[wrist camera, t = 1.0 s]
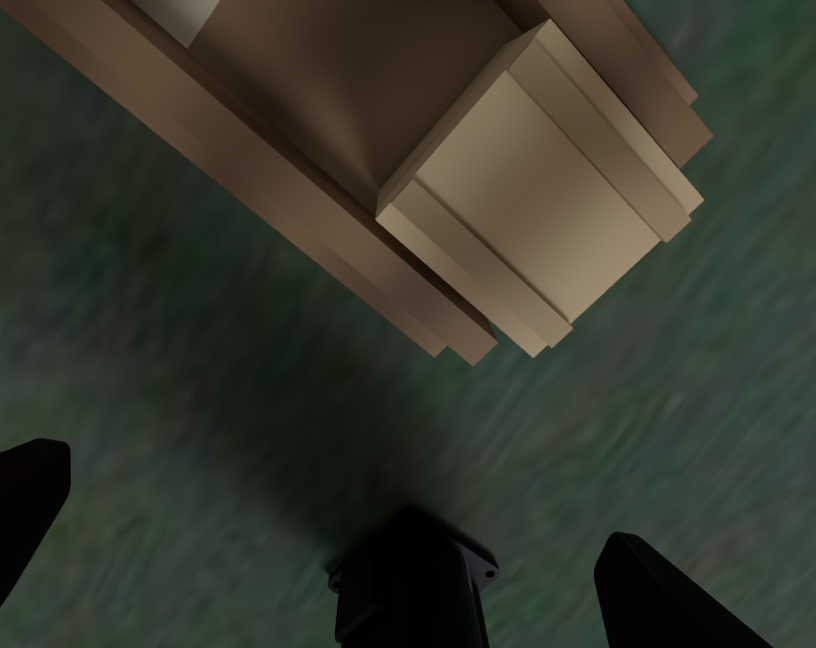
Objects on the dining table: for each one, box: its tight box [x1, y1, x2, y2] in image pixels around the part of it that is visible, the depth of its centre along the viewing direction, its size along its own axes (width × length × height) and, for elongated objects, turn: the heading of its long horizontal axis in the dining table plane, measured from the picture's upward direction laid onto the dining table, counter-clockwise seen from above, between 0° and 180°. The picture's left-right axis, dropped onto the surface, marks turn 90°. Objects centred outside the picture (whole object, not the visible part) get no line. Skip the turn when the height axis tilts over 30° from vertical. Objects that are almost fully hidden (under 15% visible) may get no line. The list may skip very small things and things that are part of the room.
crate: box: [375, 19, 704, 358], centre depth 15 cm, size 6×6×5 cm
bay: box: [0, 0, 713, 366], centre depth 15 cm, size 19×13×4 cm
